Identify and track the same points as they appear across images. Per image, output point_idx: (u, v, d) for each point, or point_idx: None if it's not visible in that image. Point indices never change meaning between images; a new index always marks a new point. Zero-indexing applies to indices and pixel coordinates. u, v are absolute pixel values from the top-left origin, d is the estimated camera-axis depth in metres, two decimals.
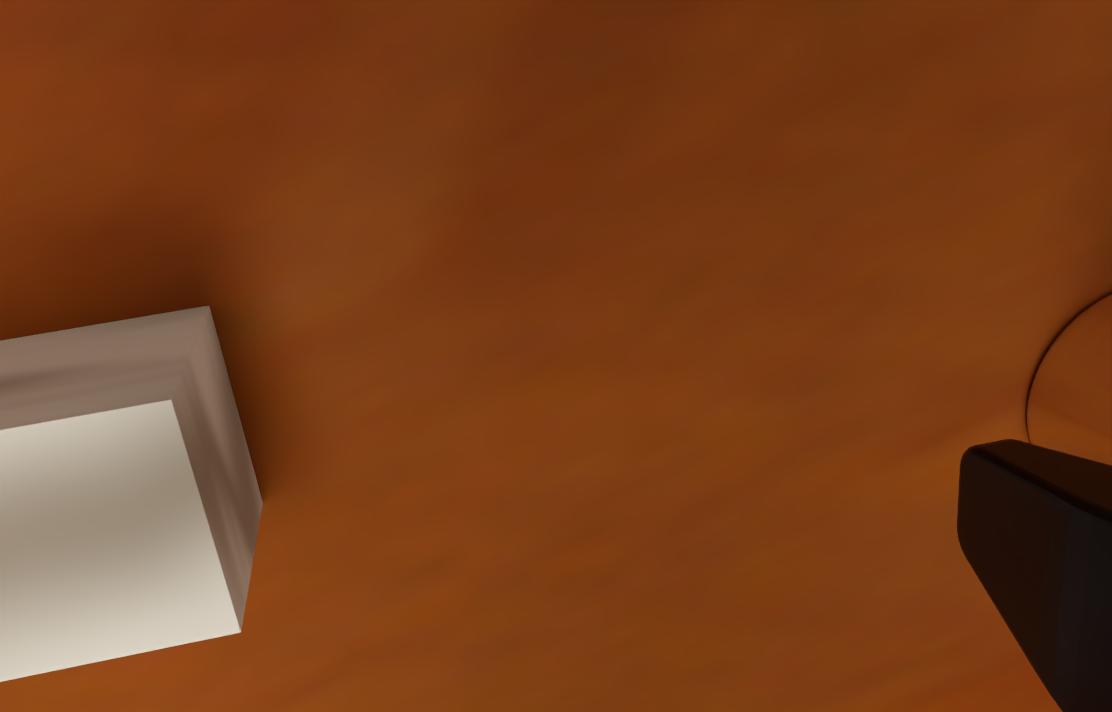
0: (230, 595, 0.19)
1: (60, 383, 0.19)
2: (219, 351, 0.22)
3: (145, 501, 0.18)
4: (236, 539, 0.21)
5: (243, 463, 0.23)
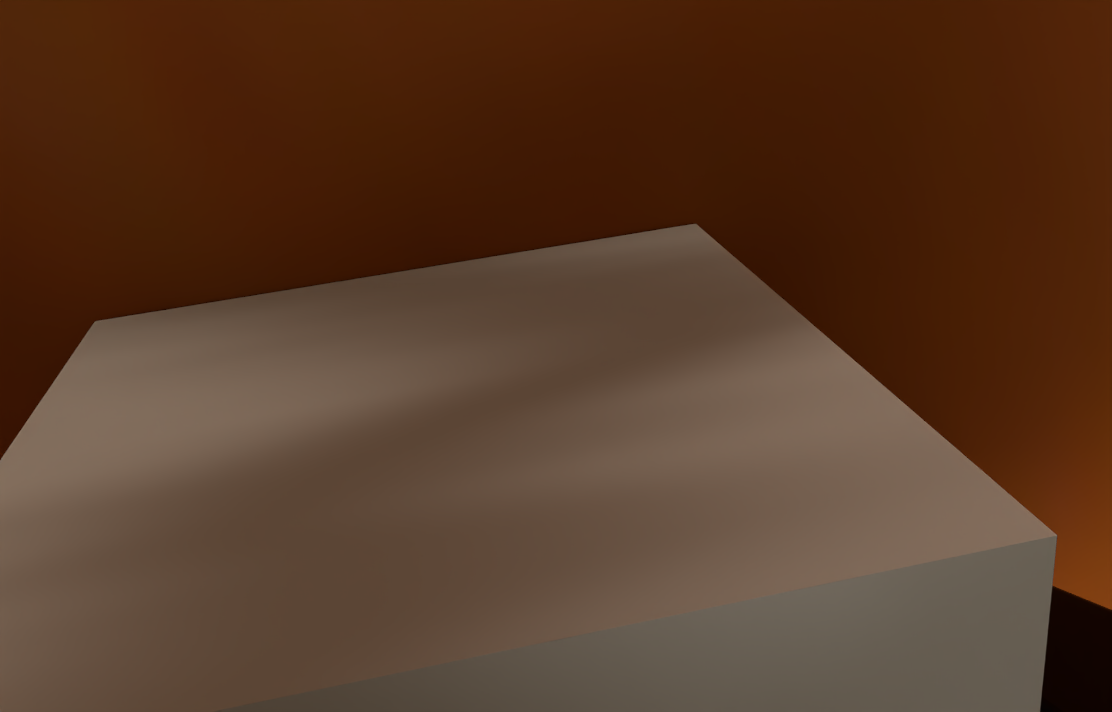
0: (859, 568, 0.04)
1: None
2: (214, 314, 0.08)
3: None
4: (690, 413, 0.06)
5: (536, 288, 0.08)
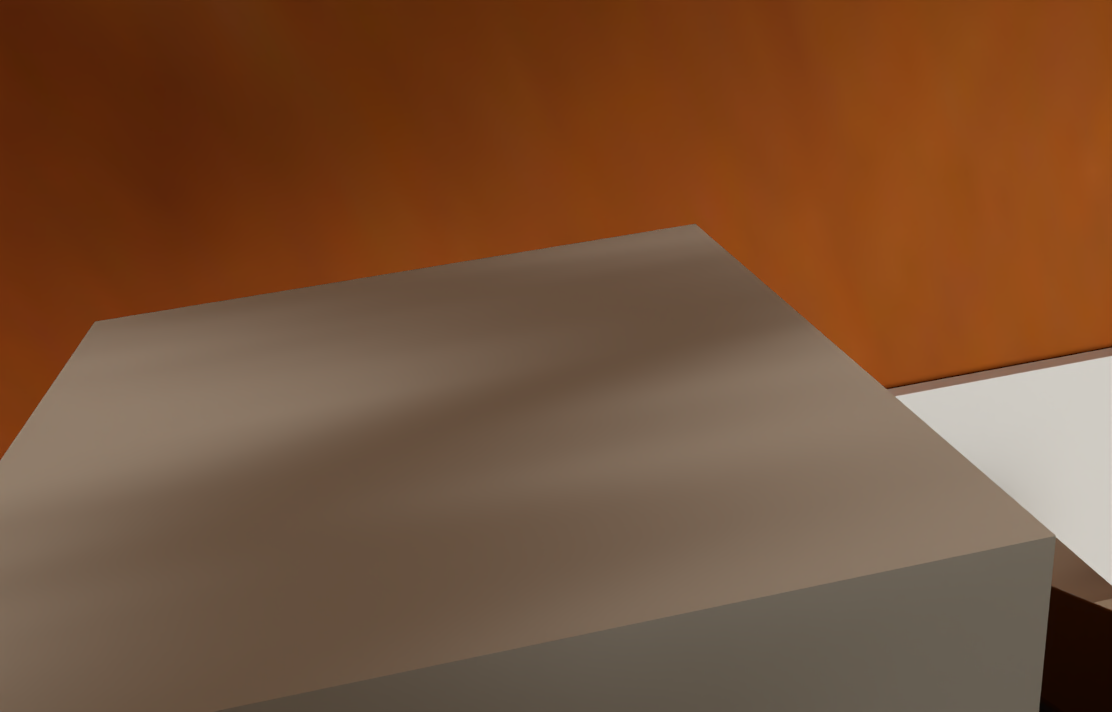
0: (858, 565, 0.04)
1: None
2: (214, 314, 0.08)
3: None
4: (689, 414, 0.06)
5: (536, 288, 0.08)
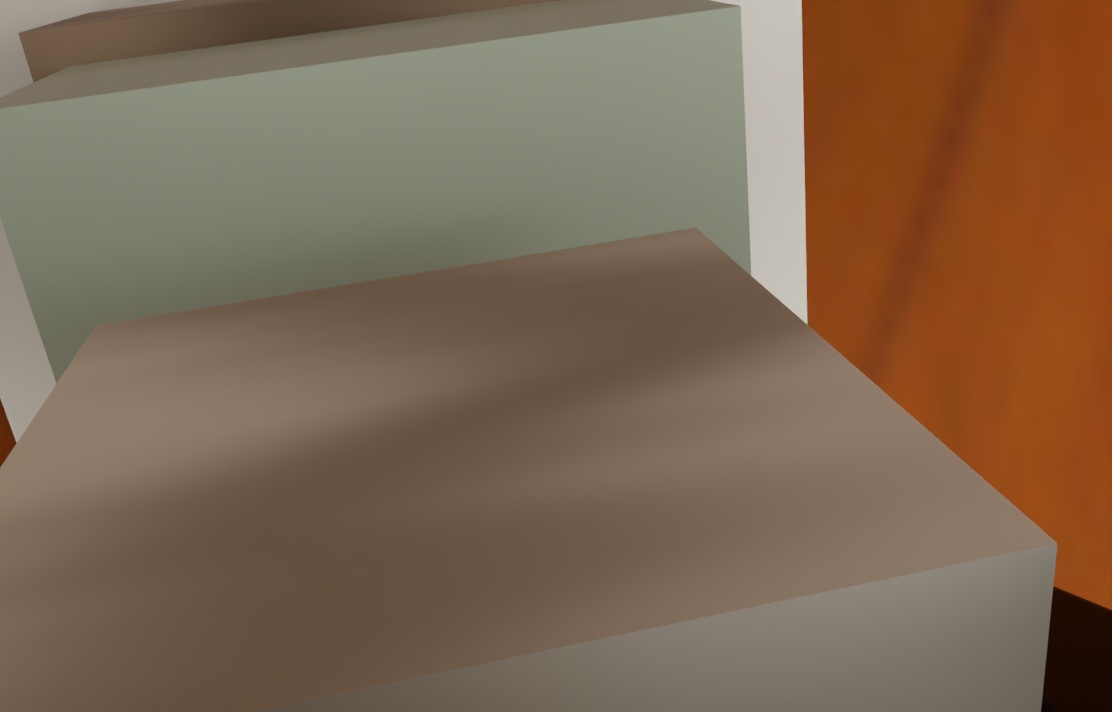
0: (860, 575, 0.04)
1: None
2: (215, 318, 0.08)
3: None
4: (690, 420, 0.06)
5: (537, 292, 0.08)
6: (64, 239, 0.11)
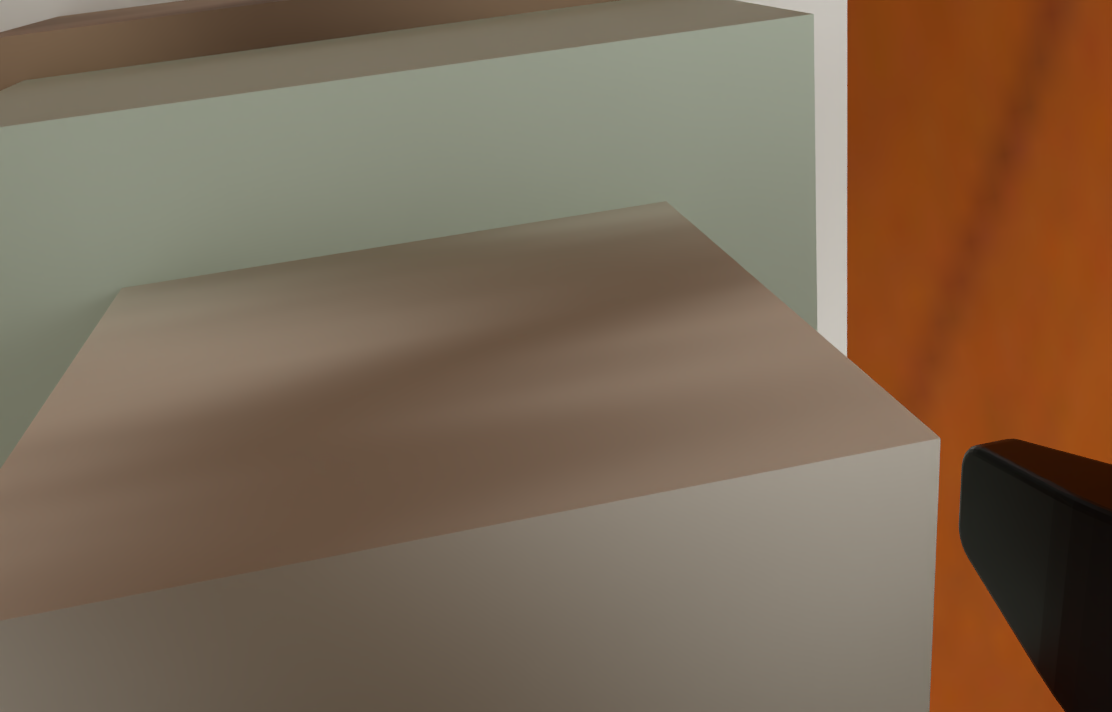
0: (776, 463, 0.05)
1: None
2: (230, 280, 0.09)
3: None
4: (647, 353, 0.06)
5: (520, 256, 0.09)
6: (3, 293, 0.09)
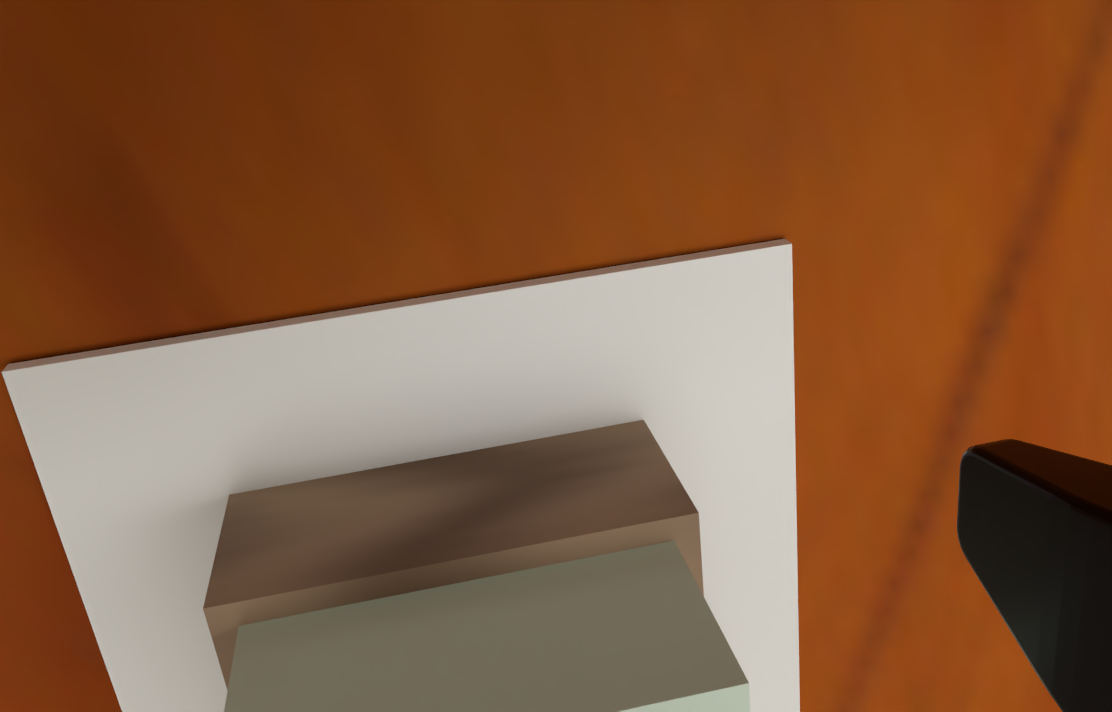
0: None
1: None
2: None
3: None
4: None
5: None
6: None
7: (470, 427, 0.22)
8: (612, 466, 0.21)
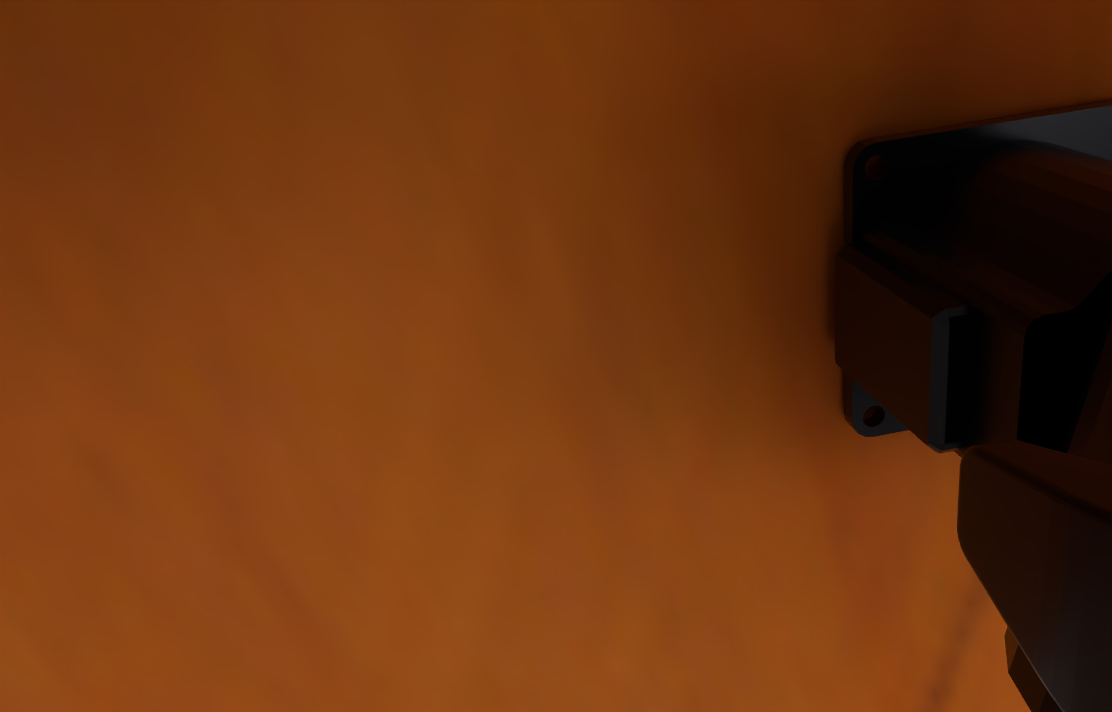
0: None
1: None
2: None
3: None
4: None
5: None
6: None
7: None
8: None
